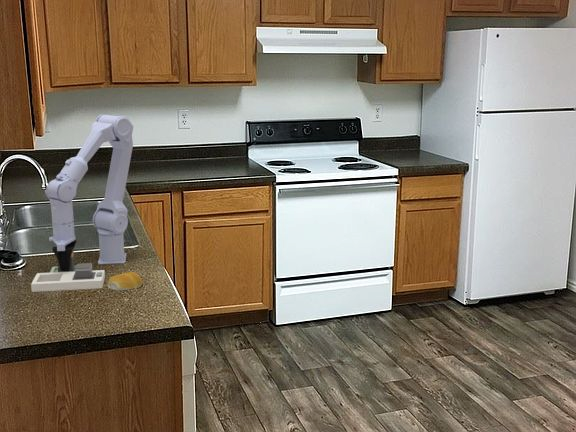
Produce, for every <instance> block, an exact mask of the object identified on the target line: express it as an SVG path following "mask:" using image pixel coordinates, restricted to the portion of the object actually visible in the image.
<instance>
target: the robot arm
mask: <svg viewBox="0 0 576 432" xmlns="http://www.w3.org/2000/svg"><path fill="white" fill-rule="evenodd" d="M133 130H134V125H133V123H132V122H131V121H130V119H129V118H128V117H127V116H125V115H120V116H119V115H112V114H111V115H109V114H106V113H103V114H100V115H98V116H97V117H96V119H95V120H94V121H93V123H92V124H91V130H90V133H89V134H88V135H87V138H86V140H85V141H84V143H83V144H82V147H81V148H80V150H79V151H78V153H77V155H76V156H73V157H70V158H69V159H66V161H65V162H64V163H65V165H64V166H63V167H62V169H61V171H60V172H59V173H58V174H57V175H56V176H55V177H56V178H55V179H53V180H50V181H49V182H48V184H47V185H46V189H45V190H44V193H45V195H46V197H47V198H48V199H49V204H50V211H51V222H52V236H49V237H48V240H49V242H53V243H54V244H55V245H56V246H52V249H51V250H52V252H53V254H54V255H55V257H56V260H57V259H58V262H59V266H60V269H61V271H69V269H70V260H71V254H72V251H73V250H75V246H76V243H77V239H76V234H75V222H74V221H75V220H74V210H73V209H74V206H73V199H74V198H75V197H76V195H77V190H78V189H77V188H78V184H79V183H80V181H81V180H82V179H83V177H84V176H85V174H86V173H87V172H88V170H89V167H88V162H90V160H91V159H92V158H93V157H94V155H95V154H96V152H98V150H99V149H100V147H101V146H102V145H103V144H104V143H107V142H108V143H109V144H110V146H111V148H112V153H111V160H110V164H109V170H108V175H107V181H106V186H105V193H104V197H103V198H104V199H103V200H101V201H100V202H99V203H98V204H97V208H96V211H95V212H94V213H93V216H92V224H93V226H94V227H95V228H96V231H97V233H98V243H99V246H98V247H99V258H98V261H97V265H106V264H107V265H110V264H125V263H126V262H127V261H126V260H127V253H126V252H125V243H124V241H125V240H124V234H125V231H126V230H127V228H128V225H129V220H128V212H129V211H128V208H127V207H126V206H125V204H124V197H125V192H126V187H127V182H128V176H129V169H130V164H131V163H130V162H131V160H132V159H131V158H132V153H133V147H134V143H133V132H134V131H133Z"/></svg>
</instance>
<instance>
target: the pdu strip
mask: <svg viewBox="0 0 576 432" xmlns="http://www.w3.org/2000/svg"><path fill="white" fill-rule="evenodd" d="M75 266H76V267H75V271H74V272H53V273H50V272H40V273H39V272H37V273H36V275H35V276H34V277H33V279H32V282H31V284H30V288H31V293H35V292H36V293H37V292H55V291H58V292H59V291H75V290H93V289H94V290H95V289H103V287H104V282H105V278H106V276H105V275H106V273H105V269H100V270H99V269H97V270H93V263H92V262H86V263H85V262H84V263H76V265H75Z"/></svg>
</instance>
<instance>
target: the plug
mask: <svg viewBox="0 0 576 432" xmlns="http://www.w3.org/2000/svg"><path fill="white" fill-rule="evenodd" d="M74 250H75V249H74ZM74 250H73V251H72V254H71V260H70V269H69V271H61V269H60V266H59V262H58V259H57V258H56V261H57V262H56V263H57V266H58V272H74V271H75V266H76V265H75V255H74V254H75V252H74Z"/></svg>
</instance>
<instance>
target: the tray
mask: <svg viewBox="0 0 576 432" xmlns="http://www.w3.org/2000/svg"><path fill="white" fill-rule="evenodd" d="M74 266H75V267H76V265H74ZM53 272H58V265H56V266H52V267H51V269H50V271H49V273H53Z"/></svg>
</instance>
